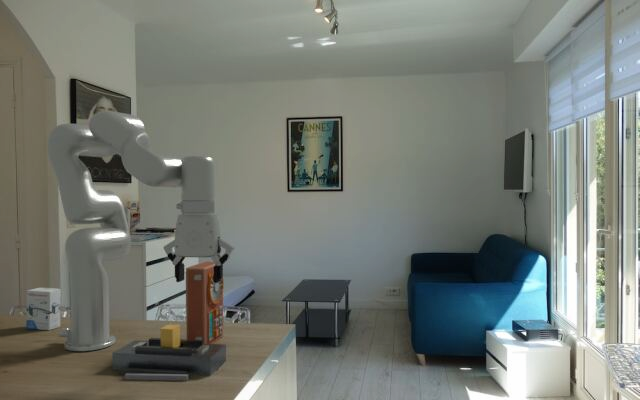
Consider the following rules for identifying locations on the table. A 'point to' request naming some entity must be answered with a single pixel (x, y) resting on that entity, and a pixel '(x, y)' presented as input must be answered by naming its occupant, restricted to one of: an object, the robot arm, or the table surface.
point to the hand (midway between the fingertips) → (198, 281)
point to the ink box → (43, 308)
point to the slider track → (171, 356)
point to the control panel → (204, 303)
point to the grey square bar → (156, 376)
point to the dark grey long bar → (148, 371)
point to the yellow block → (170, 336)
